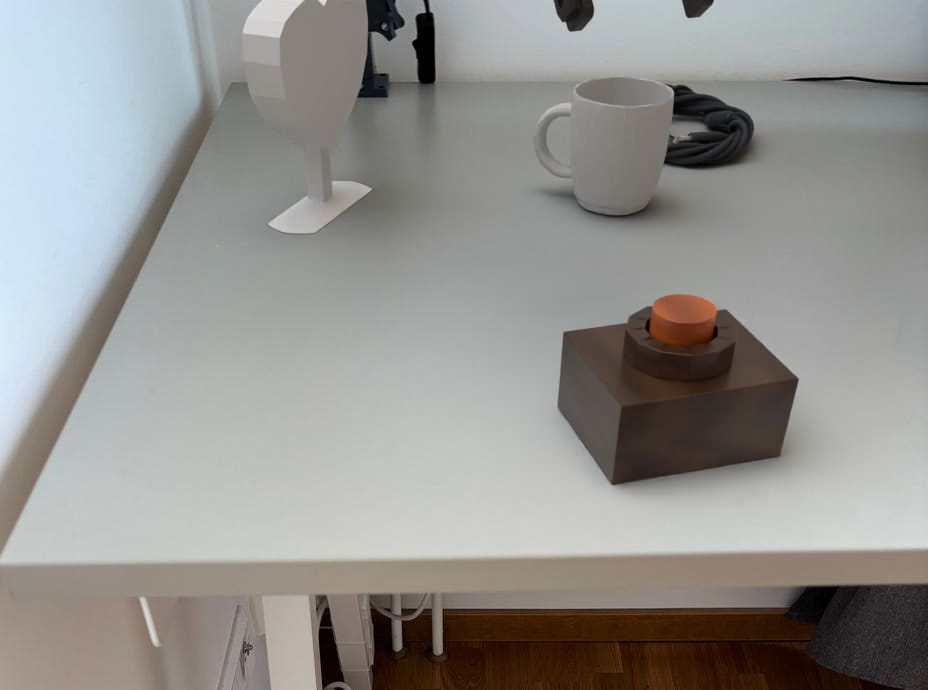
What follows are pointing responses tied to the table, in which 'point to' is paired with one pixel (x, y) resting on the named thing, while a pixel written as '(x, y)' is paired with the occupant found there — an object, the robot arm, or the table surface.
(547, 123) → the mug
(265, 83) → the heart sculpture
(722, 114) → the cable
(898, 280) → the table surface
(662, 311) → the button
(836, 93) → the table surface
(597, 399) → the control block
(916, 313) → the table surface
